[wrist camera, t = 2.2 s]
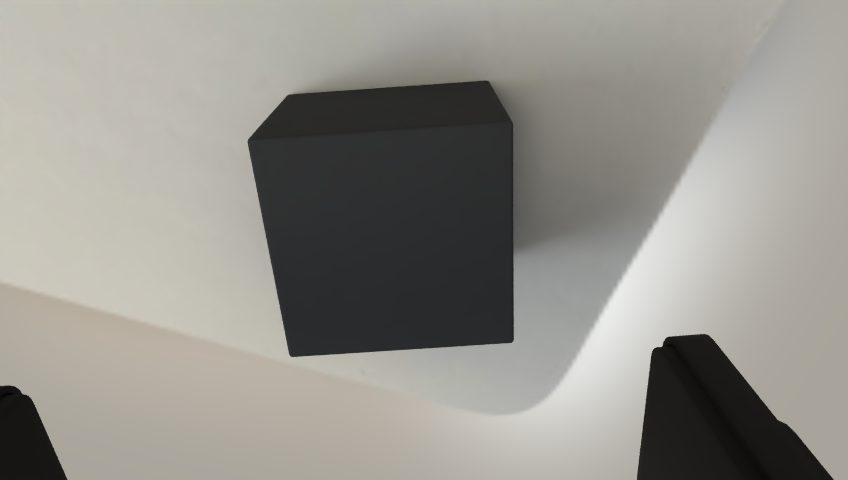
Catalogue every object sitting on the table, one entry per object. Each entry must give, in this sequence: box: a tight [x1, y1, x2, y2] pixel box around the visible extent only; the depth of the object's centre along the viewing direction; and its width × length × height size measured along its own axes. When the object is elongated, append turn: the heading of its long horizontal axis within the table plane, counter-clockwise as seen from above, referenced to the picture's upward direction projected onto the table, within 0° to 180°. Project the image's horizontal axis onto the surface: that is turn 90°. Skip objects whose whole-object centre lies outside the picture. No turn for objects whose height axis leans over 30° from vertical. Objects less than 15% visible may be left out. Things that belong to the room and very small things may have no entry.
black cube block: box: [248, 81, 514, 357], centre depth 18 cm, size 6×6×5 cm
